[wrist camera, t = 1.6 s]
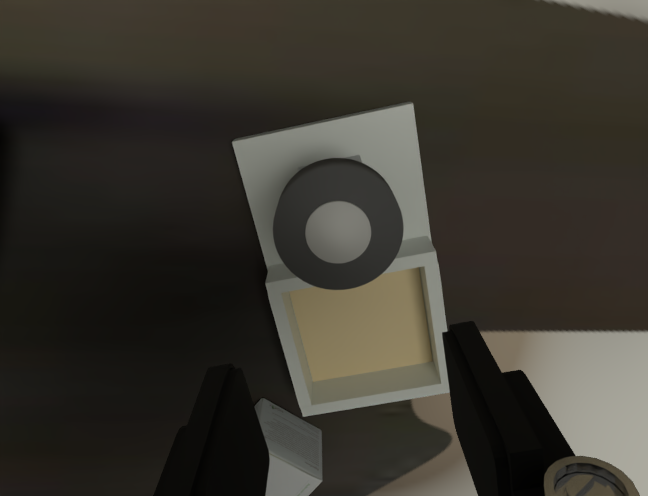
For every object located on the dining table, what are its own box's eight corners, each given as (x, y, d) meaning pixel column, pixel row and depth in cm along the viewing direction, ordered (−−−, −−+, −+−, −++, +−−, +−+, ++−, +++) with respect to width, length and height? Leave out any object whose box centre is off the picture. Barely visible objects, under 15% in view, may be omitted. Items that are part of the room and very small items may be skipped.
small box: (284, 474, 39) (278, 530, 34) (222, 442, 38) (208, 496, 33) (325, 429, 37) (325, 482, 33) (262, 394, 36) (253, 444, 31)
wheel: (398, 242, 27) (412, 279, 23) (294, 262, 28) (289, 302, 23) (381, 137, 25) (393, 155, 21) (268, 160, 26) (257, 183, 21)
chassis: (444, 358, 34) (457, 391, 31) (302, 383, 35) (300, 417, 32) (409, 101, 28) (421, 108, 24) (234, 139, 29) (223, 150, 25)
